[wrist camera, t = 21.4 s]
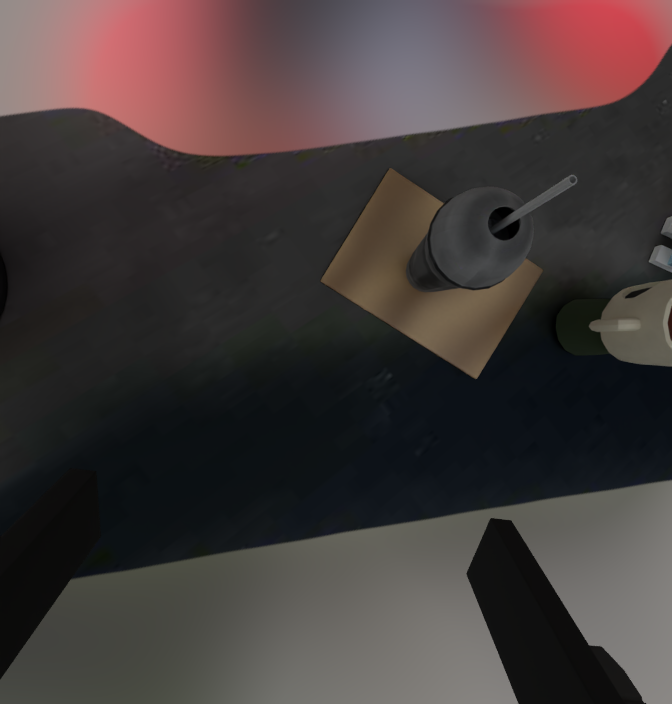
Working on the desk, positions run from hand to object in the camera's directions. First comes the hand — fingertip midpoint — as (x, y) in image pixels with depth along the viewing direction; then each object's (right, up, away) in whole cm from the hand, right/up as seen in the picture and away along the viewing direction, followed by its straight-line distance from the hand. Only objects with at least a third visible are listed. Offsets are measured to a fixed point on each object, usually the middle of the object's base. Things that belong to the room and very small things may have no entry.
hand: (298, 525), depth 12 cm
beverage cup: (+11, +15, +26) cm, 31 cm away
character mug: (+28, +9, +27) cm, 40 cm away
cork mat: (+12, +14, +26) cm, 32 cm away
